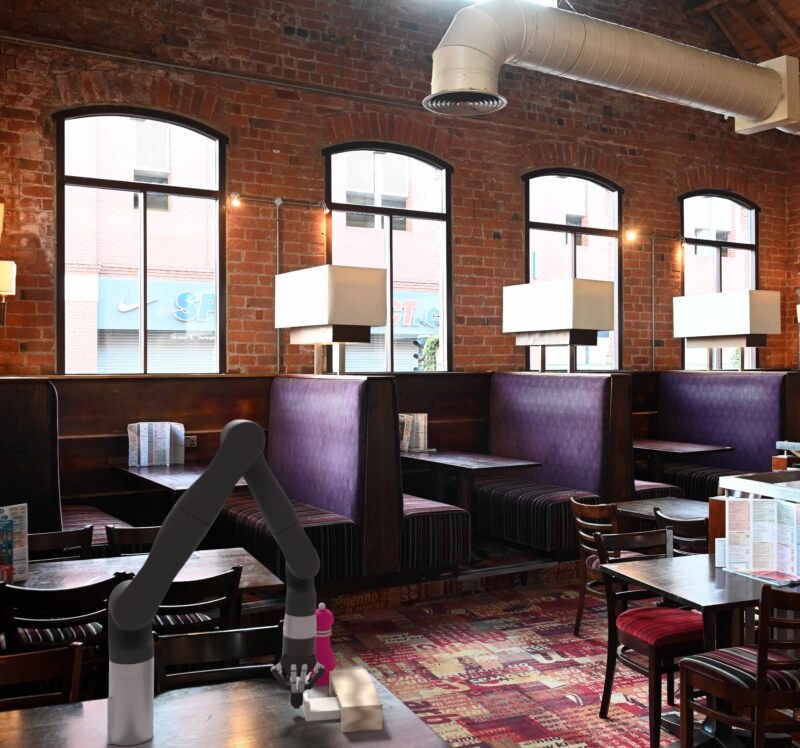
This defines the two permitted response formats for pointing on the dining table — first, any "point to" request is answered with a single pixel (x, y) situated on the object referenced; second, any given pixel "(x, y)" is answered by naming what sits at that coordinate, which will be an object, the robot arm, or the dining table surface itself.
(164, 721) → the dining table surface
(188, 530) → the robot arm
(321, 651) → the pepper mill
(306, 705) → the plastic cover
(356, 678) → the overhang shelf
